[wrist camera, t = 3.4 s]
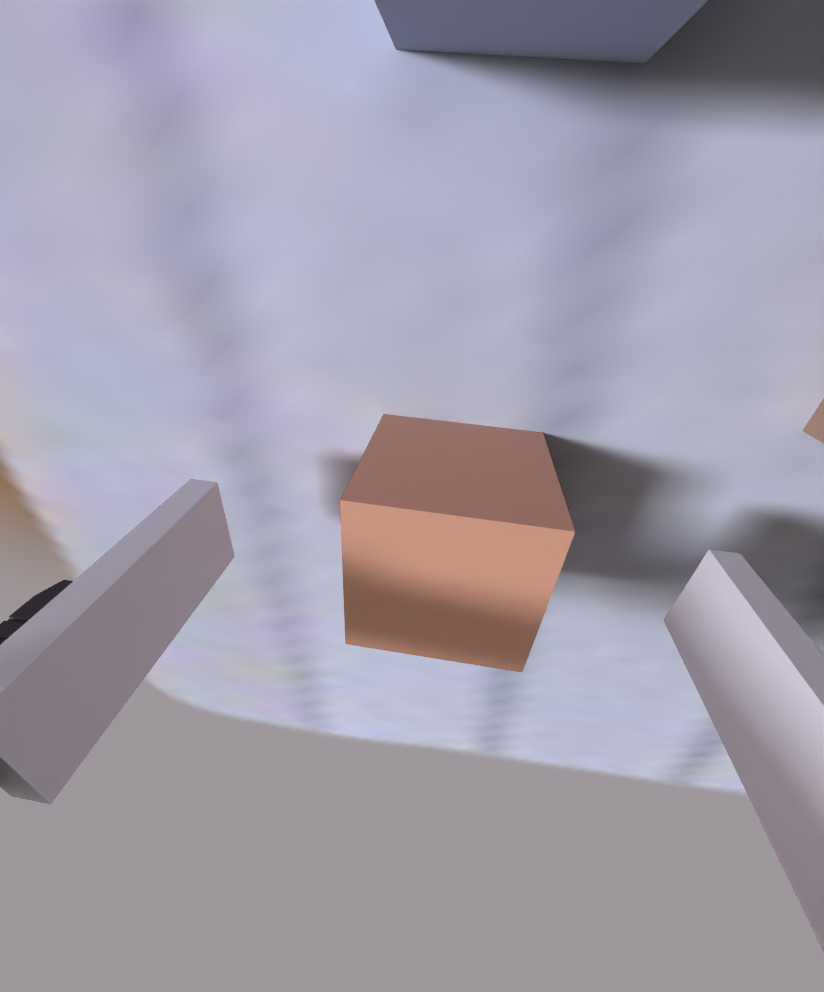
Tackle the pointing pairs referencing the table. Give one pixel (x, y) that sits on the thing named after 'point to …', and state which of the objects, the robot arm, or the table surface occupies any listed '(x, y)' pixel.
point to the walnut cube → (816, 424)
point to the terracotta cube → (452, 541)
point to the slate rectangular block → (538, 27)
